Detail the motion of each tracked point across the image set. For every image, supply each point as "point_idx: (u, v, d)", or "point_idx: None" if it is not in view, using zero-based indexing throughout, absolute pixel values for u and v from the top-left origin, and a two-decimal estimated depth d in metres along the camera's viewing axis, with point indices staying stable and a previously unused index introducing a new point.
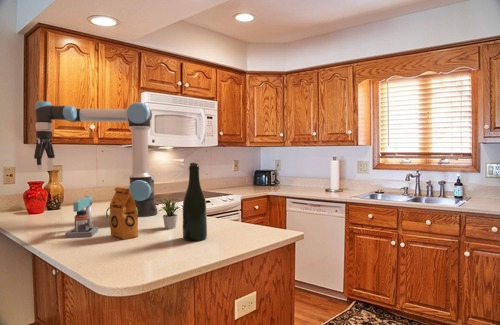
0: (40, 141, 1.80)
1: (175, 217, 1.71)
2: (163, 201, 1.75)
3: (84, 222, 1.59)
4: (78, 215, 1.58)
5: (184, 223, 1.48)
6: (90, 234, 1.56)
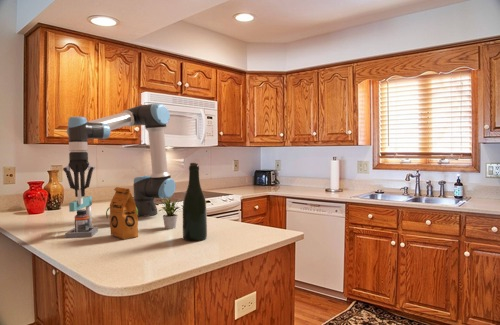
0: None
1: (175, 217, 1.71)
2: (163, 201, 1.75)
3: (84, 222, 1.59)
4: (78, 215, 1.58)
5: (184, 223, 1.48)
6: (90, 234, 1.56)
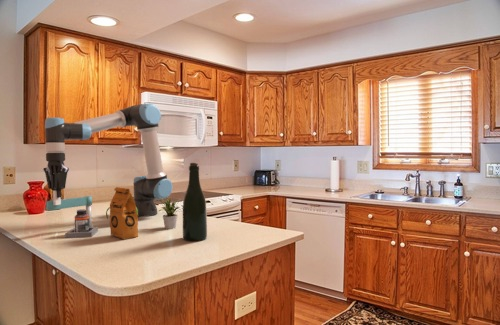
0: None
1: (175, 217, 1.71)
2: (163, 200, 1.75)
3: (84, 222, 1.59)
4: (78, 215, 1.58)
5: (184, 223, 1.48)
6: (90, 234, 1.56)
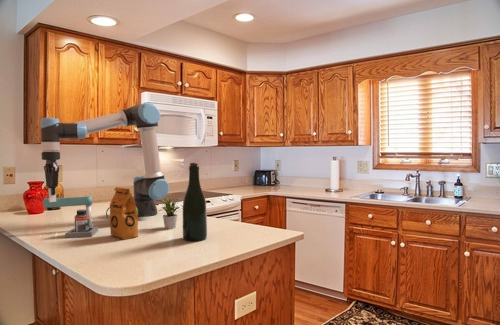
0: None
1: (175, 217, 1.71)
2: (163, 200, 1.75)
3: (84, 222, 1.59)
4: (78, 215, 1.58)
5: (184, 223, 1.48)
6: (90, 234, 1.56)
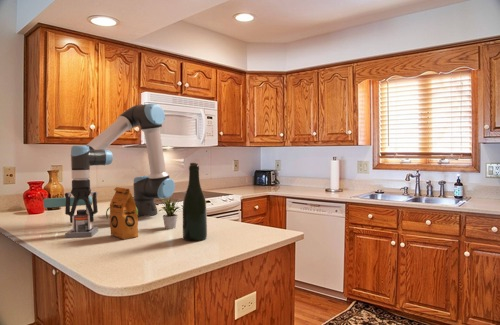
0: None
1: (175, 217, 1.71)
2: (163, 201, 1.75)
3: (84, 222, 1.59)
4: (78, 215, 1.58)
5: (184, 223, 1.48)
6: (90, 234, 1.56)
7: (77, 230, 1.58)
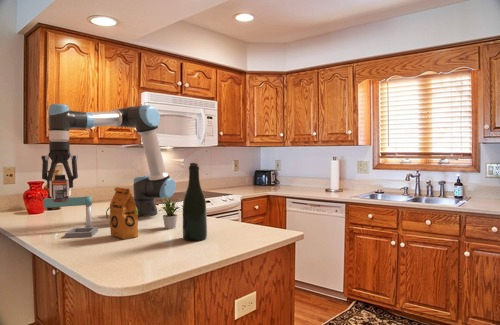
0: None
1: (175, 217, 1.71)
2: (163, 201, 1.75)
3: (63, 188, 1.46)
4: (56, 180, 1.46)
5: (184, 223, 1.48)
6: (90, 234, 1.56)
7: (55, 196, 1.45)
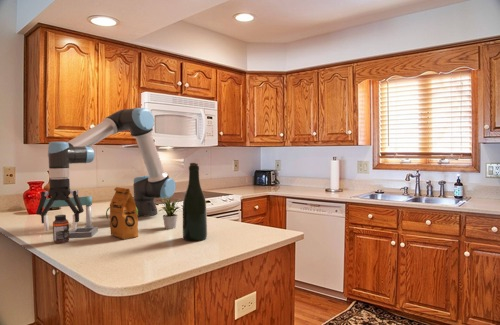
0: None
1: (175, 217, 1.71)
2: (163, 201, 1.75)
3: (63, 229, 1.46)
4: (56, 221, 1.46)
5: (184, 223, 1.48)
6: (90, 234, 1.56)
7: (55, 237, 1.45)
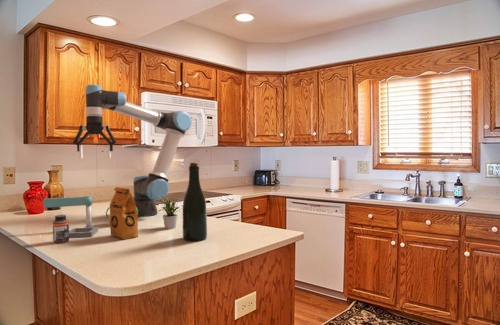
0: None
1: (175, 217, 1.71)
2: (163, 201, 1.75)
3: (63, 229, 1.46)
4: (56, 221, 1.46)
5: (184, 223, 1.48)
6: (90, 234, 1.56)
7: (55, 237, 1.45)
